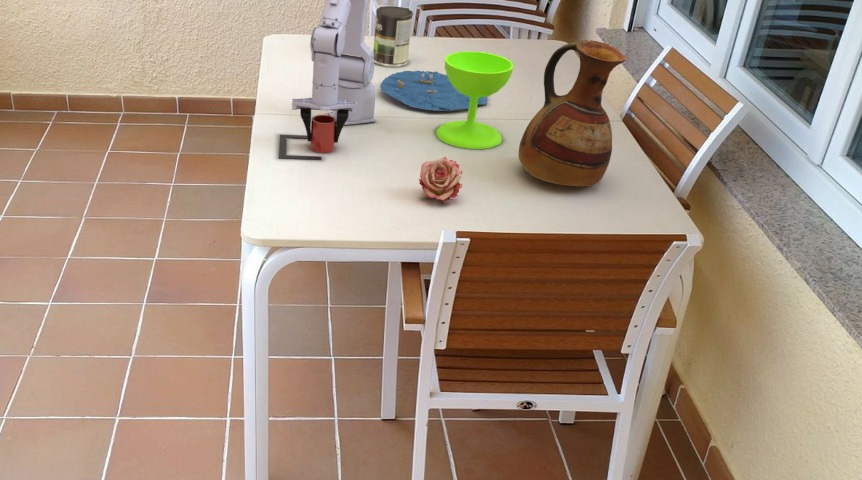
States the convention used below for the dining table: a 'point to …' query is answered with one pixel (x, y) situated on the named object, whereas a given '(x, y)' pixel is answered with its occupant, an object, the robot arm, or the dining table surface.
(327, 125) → the tumbler
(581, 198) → the dining table surface
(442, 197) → the flower
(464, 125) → the wineglass
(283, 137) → the tape bay
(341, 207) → the dining table surface
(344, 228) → the dining table surface
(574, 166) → the ceramic pitcher
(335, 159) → the dining table surface
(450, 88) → the decorative plate
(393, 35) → the coffee can
